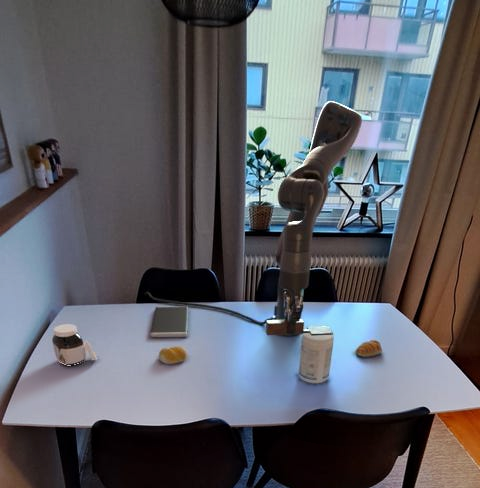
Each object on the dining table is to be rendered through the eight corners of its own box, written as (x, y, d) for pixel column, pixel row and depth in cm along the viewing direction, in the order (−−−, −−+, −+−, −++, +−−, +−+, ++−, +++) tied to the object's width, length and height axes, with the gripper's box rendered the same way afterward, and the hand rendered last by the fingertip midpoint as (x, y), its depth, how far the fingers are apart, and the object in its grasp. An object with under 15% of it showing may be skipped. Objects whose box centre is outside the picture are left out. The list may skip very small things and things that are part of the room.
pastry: (365, 360, 161) (367, 350, 159) (350, 353, 165) (351, 343, 163) (382, 353, 166) (385, 342, 164) (367, 346, 170) (369, 336, 168)
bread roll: (190, 360, 158) (190, 349, 156) (166, 366, 154) (165, 355, 152) (179, 351, 164) (178, 340, 162) (155, 357, 160) (154, 346, 157)
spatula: (268, 337, 128) (268, 325, 126) (264, 330, 132) (265, 318, 130) (332, 334, 130) (334, 322, 128) (327, 327, 134) (328, 315, 132)
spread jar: (53, 360, 156) (45, 327, 149) (83, 350, 163) (77, 317, 156) (73, 373, 150) (65, 338, 143) (103, 361, 156) (98, 327, 150)
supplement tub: (319, 368, 156) (325, 325, 147) (334, 381, 148) (340, 337, 140) (292, 372, 153) (296, 329, 144) (306, 386, 146) (311, 342, 137)
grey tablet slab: (188, 310, 195) (188, 306, 194) (187, 337, 173) (187, 333, 172) (155, 310, 194) (155, 306, 193) (150, 338, 172) (150, 333, 171)
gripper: (316, 275, 116) (309, 341, 126) (302, 259, 127) (297, 322, 137) (286, 276, 115) (281, 343, 125) (274, 260, 126) (271, 323, 136)
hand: (289, 331), depth 131 cm, fingers closed on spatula, 2 cm apart
